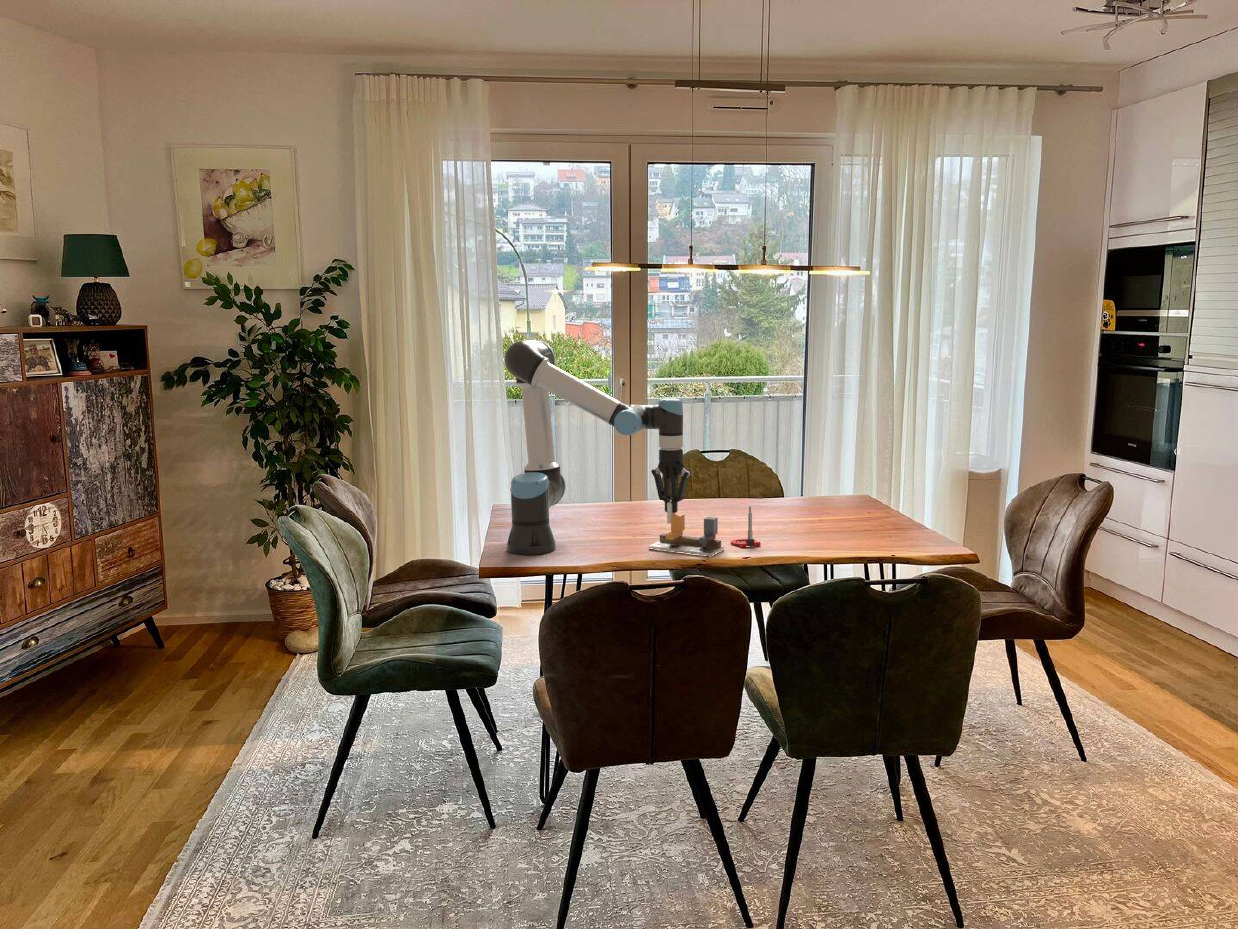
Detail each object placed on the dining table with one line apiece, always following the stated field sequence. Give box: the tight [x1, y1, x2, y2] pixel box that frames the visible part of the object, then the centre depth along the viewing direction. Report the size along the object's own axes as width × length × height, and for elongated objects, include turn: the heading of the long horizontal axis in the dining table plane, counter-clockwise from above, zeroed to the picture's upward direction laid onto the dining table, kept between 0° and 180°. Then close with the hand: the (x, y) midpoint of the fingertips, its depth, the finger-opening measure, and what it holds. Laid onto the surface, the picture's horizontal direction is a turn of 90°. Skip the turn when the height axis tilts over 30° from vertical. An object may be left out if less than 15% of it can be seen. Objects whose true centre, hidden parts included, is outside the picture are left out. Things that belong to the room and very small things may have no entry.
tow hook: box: [730, 506, 761, 548], centre depth 295 cm, size 8×13×9 cm
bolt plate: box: [647, 533, 725, 557], centre depth 289 cm, size 10×21×3 cm, turn 61°
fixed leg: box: [698, 516, 719, 549], centre depth 286 cm, size 8×3×8 cm, turn 151°
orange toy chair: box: [665, 512, 686, 545], centre depth 291 cm, size 8×3×8 cm, turn 151°
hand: (671, 522), depth 294 cm, fingers closed
